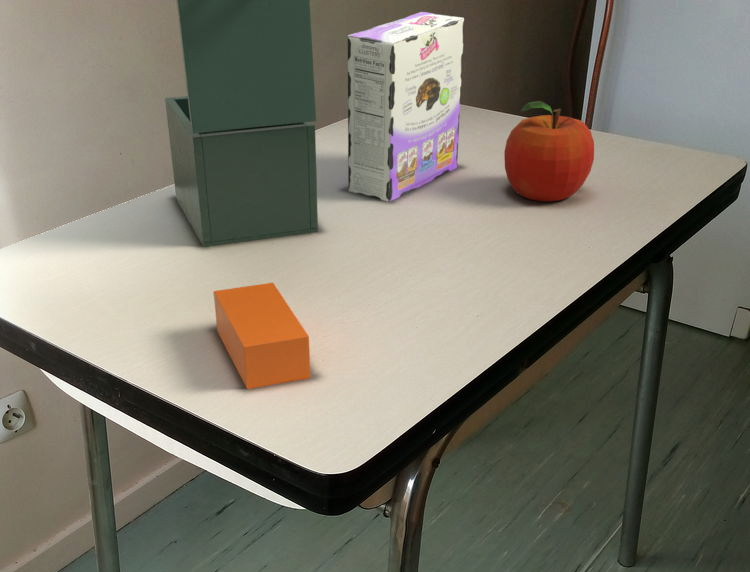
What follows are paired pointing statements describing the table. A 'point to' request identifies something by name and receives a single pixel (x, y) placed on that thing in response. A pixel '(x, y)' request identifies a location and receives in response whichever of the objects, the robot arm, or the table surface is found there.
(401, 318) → the table surface
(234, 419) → the table surface
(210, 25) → the bin lid
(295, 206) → the bin
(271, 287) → the block
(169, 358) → the table surface
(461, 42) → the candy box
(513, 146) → the fruit
